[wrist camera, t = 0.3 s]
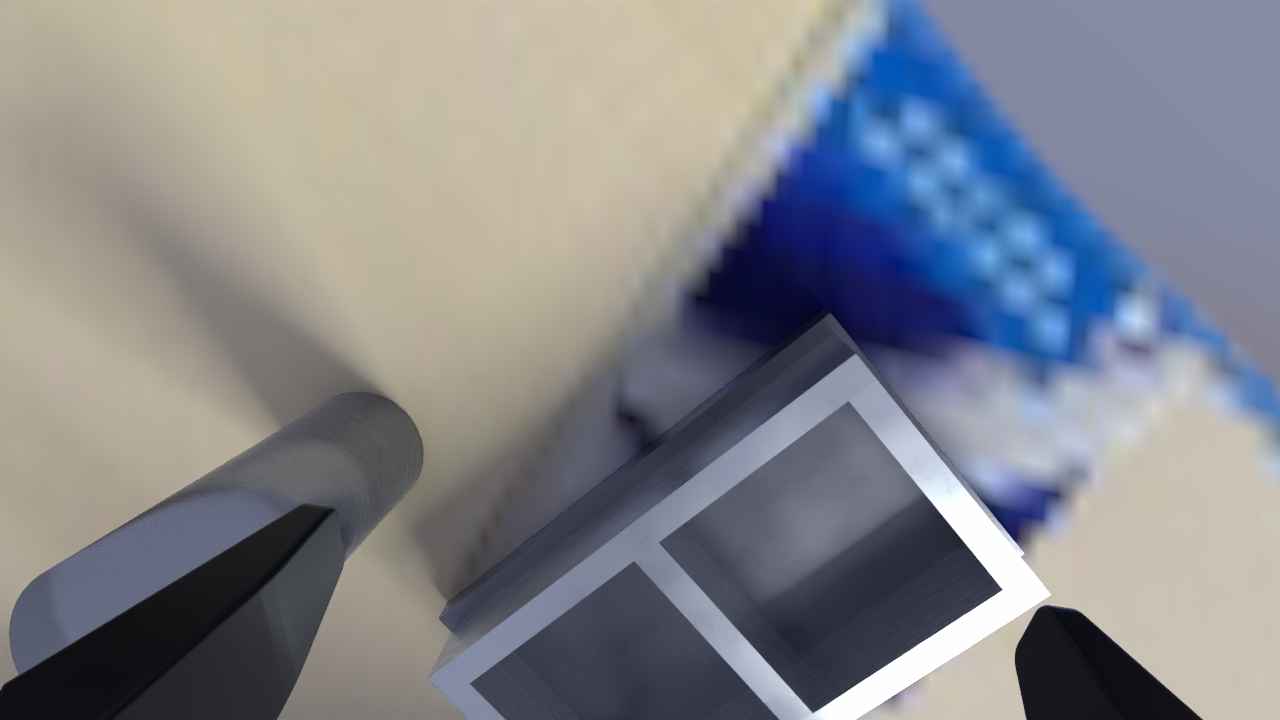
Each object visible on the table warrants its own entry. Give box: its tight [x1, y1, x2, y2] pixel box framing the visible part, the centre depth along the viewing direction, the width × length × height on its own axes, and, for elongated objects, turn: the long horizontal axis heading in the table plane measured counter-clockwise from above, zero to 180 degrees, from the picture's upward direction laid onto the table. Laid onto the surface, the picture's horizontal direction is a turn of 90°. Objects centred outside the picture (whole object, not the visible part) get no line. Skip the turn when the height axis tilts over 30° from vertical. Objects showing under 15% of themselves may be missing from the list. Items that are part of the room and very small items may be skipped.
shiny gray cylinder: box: [9, 392, 423, 675], centre depth 21 cm, size 4×4×12 cm
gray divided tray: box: [428, 308, 1050, 720], centre depth 25 cm, size 18×11×4 cm, turn 131°
